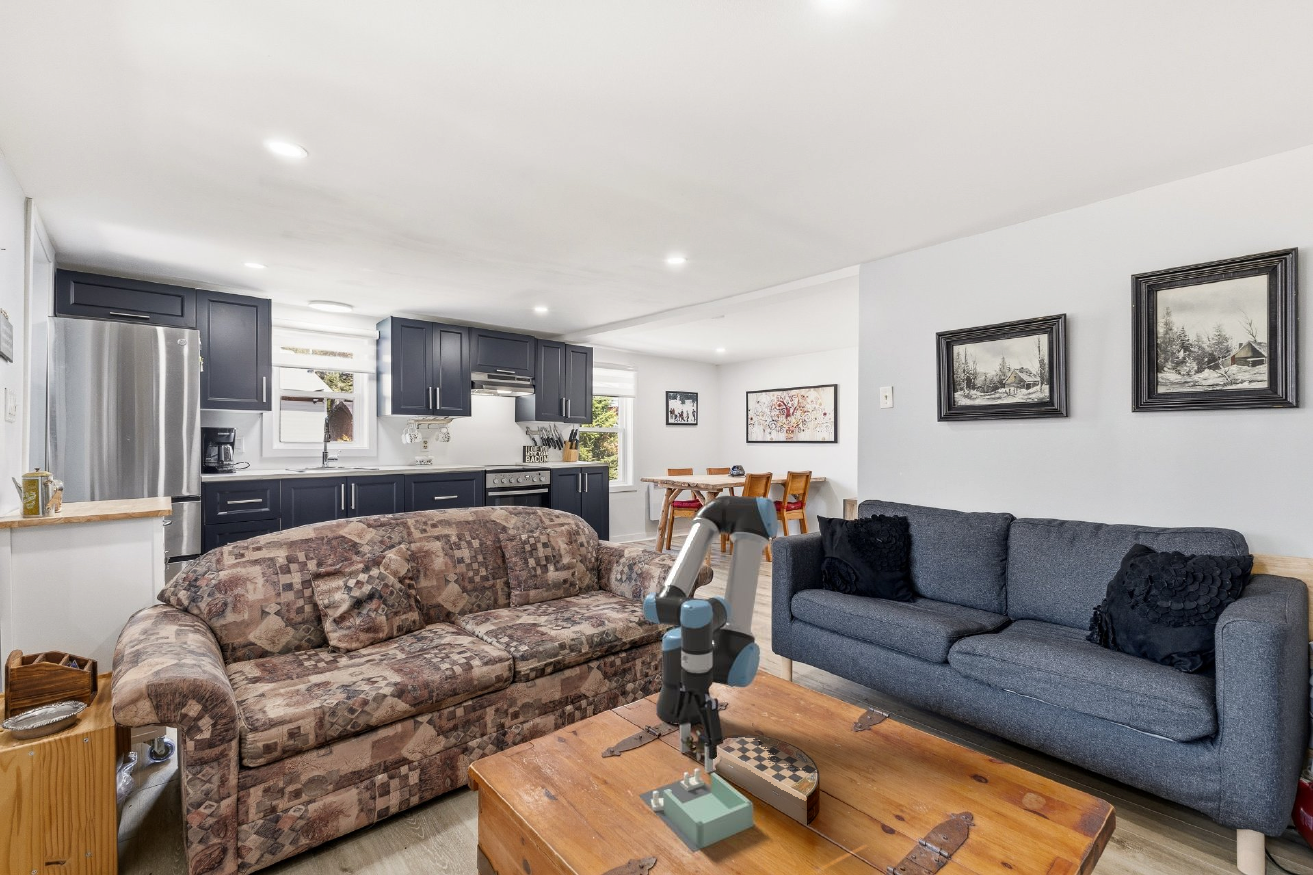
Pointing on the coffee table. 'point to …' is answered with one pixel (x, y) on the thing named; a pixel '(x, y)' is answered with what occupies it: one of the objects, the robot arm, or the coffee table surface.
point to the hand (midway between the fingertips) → (697, 760)
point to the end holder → (710, 813)
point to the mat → (683, 798)
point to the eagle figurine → (696, 744)
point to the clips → (686, 784)
